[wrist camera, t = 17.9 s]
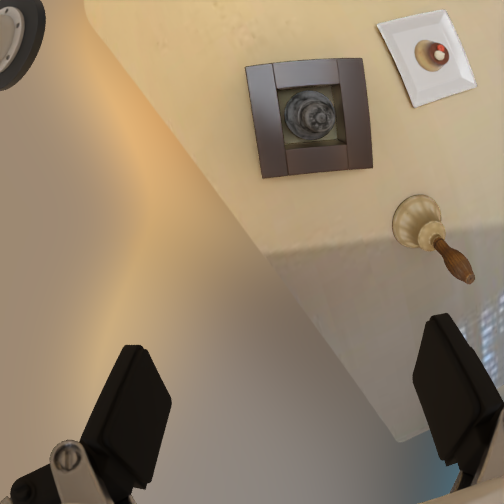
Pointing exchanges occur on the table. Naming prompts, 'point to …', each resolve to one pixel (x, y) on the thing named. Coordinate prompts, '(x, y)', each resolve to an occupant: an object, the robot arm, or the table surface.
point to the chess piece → (309, 115)
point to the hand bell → (428, 234)
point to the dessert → (428, 56)
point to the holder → (347, 117)
